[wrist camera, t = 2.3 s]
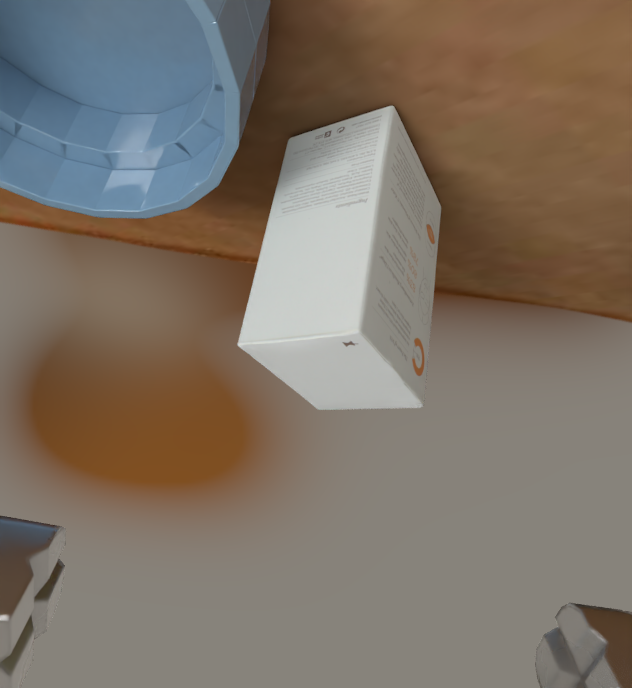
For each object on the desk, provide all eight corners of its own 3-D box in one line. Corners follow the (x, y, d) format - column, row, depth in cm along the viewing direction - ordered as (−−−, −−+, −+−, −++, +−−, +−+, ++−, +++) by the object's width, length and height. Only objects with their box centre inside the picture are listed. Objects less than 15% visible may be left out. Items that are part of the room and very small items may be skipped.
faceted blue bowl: (294, -247, 17) (247, -142, 14) (260, 159, 32) (235, 248, 29) (-292, -413, 16) (-473, -337, 13) (-39, 88, 31) (-96, 174, 28)
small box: (286, 135, 30) (231, 345, 25) (395, 100, 27) (361, 331, 22) (349, 227, 37) (317, 413, 31) (444, 207, 33) (428, 409, 28)
